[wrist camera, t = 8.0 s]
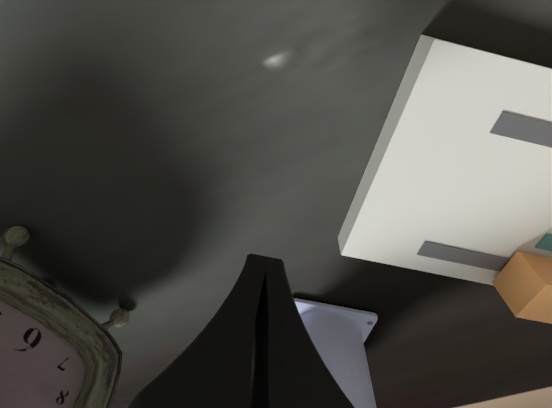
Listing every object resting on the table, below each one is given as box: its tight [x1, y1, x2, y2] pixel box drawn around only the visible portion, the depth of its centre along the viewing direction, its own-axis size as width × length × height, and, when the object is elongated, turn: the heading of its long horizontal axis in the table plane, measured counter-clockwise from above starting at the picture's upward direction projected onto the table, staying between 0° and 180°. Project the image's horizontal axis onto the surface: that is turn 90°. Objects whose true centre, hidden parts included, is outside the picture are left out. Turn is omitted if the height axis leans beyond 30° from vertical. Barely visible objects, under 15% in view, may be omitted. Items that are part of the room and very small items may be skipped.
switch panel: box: [338, 34, 552, 285], centre depth 21 cm, size 14×20×2 cm
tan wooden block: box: [492, 251, 552, 324], centre depth 22 cm, size 3×4×3 cm
